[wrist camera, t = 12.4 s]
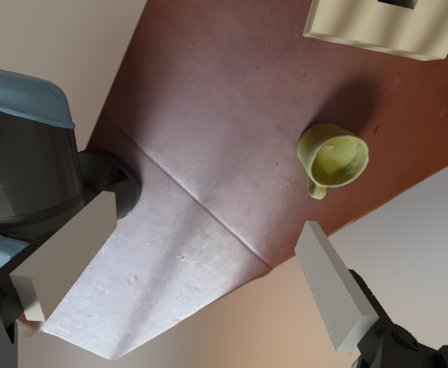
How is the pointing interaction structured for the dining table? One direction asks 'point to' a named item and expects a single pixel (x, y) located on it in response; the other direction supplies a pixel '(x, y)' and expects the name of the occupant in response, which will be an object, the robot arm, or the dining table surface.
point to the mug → (331, 157)
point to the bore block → (383, 26)
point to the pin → (390, 1)
